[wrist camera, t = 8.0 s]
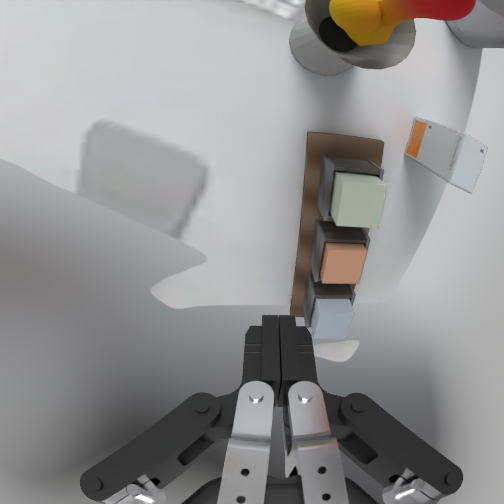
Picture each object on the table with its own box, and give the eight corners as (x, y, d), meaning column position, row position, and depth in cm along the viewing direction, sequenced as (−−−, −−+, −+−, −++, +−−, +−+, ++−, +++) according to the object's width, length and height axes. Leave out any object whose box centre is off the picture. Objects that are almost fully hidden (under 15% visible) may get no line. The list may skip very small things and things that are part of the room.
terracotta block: (320, 226, 38) (328, 249, 33) (354, 228, 38) (367, 251, 33) (315, 257, 41) (322, 283, 36) (348, 258, 40) (358, 283, 35)
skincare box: (413, 115, 30) (465, 131, 20) (436, 126, 31) (489, 146, 20) (402, 154, 33) (448, 183, 23) (425, 164, 34) (473, 195, 24)
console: (307, 131, 33) (316, 140, 27) (380, 140, 33) (400, 150, 27) (289, 311, 49) (292, 339, 43) (344, 310, 49) (351, 337, 43)
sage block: (330, 165, 32) (343, 181, 27) (368, 169, 32) (387, 185, 27) (325, 204, 34) (336, 225, 29) (362, 206, 34) (378, 228, 29)
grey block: (313, 286, 41) (319, 314, 36) (345, 286, 41) (354, 313, 36) (308, 310, 44) (313, 338, 39) (338, 310, 44) (346, 338, 39)
